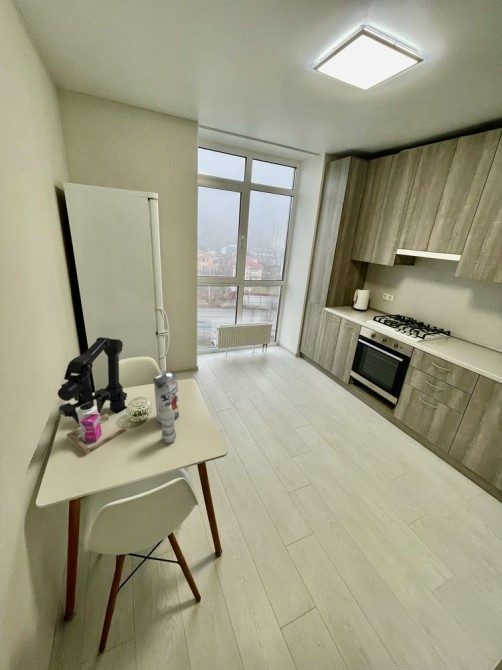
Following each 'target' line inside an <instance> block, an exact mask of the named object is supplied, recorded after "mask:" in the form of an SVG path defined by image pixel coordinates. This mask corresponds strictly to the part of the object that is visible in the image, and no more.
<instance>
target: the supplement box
mask: <svg viewBox="0 0 502 670" xmlns="http://www.w3.org/2000/svg"><path fill="white" fill-rule="evenodd" d="M79 427H81V432H82V434H81V436H82V440H83V441H82V443H98V440H99V439H100V437H101V435H102V433H103V432H102V426H101V424H100V420H99V414H85V416H84V417H83V418H82V420H81V421H80V423H79Z"/></svg>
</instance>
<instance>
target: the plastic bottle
mask: <svg viewBox="0 0 502 670" xmlns="http://www.w3.org/2000/svg"><path fill="white" fill-rule="evenodd" d="M162 409H163V410H162V411H161V413H160V419H161V423H160V424H161V435H160V436H161V441H162V442H163V443H164V444H172V443H174V442H175V440H176V439H177V432H176V430H175V429H176V428H175V420H174V417H175V412H174V410H173V409H172V408H171V403H170V402H165V403H163V407H162Z"/></svg>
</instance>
